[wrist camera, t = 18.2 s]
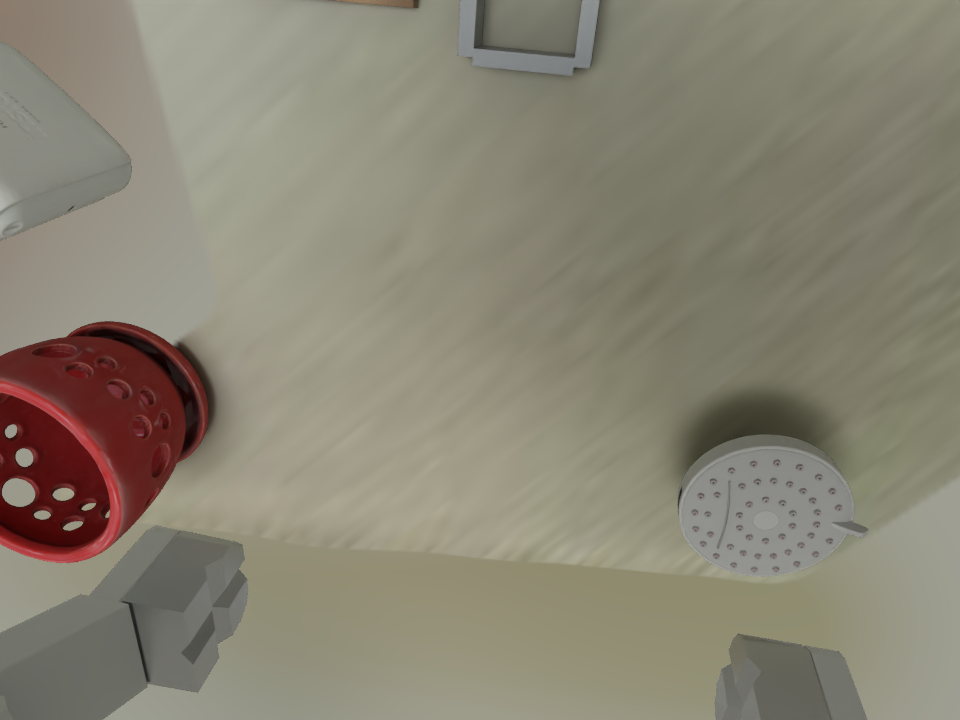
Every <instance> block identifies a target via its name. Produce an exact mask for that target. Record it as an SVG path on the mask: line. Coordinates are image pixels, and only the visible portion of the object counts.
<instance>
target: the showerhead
mask: <svg viewBox="0 0 960 720" xmlns="http://www.w3.org/2000/svg"><path fill="white" fill-rule="evenodd" d="M678 515H679V523H680V527H681V530H682V533H683V535H684V537H685V539H686V541H687V542H688V544H689V545H690V546H691V547H692V549H693V550H694V551H695V552H696V553H697V554H698V555H700V556H701V557H702V558H703V559H705V560H706V561H708V562H710V563H711V564H713V565H715V566H717V567H719V568H722V569H724V570H727V571H730V572H733V573H737V574H742V575H747V576H762V577H764V576H777V575H784V574H789V573H793V572H796V571H799V570H802V569H805V568H807V567H810V566H812V565H814V564H815V563H817V562H819V561H821V560H822V559H824V558H825V557H827V556H828V555H829V554H830V553H831V552H833V551H834V550H835V549H836V548H837V547H838V546H839V545H840V543H841V542H842V541H843V540H844V538H845V537H846V535H847V534H850V535H853V536H856V537H860V538H863V537H864V536H865V535H866V534H867V531H868V529H867V528H865V527H863V526H861V525H858V524H856V523H854V522H852V521H853V516H854V500H853V495H852V492H851V489H850V487H849V485H848V483H847V482H846V480H845V478H844V476H843V474H842V473H841V471H840V469H839V468H838V466H837V465H836V464H835V462H834V461H833V460H832V459H831V458H830V457H829V456H828V455H826V454H825V453H824V452H823V451H821V450H820V449H818V448H817V447H815V446H813V445H811V444H809V443H807V442H804V441H802V440H799V439H796V438H792V437H787V436H782V435H768V434H763V435H751V436H745V437H740V438H736V439H733V440H730V441H727V442H725V443H722V444H720V445H718V446H716V447H714V448H712V449H711V450H709V451H708V452H706V453H705V454H703V455H702V456H701V457H700V458H699V459H697V460H696V461H695V462H694V463H693V465H692V466H691V467H690V468H689V470H688V471H687V472H686V474H685V476H684V478H683V480H682V482H681V485H680V488H679V492H678Z"/></svg>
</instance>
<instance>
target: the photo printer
mask: <svg viewBox="0 0 960 720" xmlns="http://www.w3.org/2000/svg"><path fill="white" fill-rule="evenodd" d="M130 162H131V158H130V157H129V155H128V154H127V153H126V151H125V150H124V149H123V148H122V147H121V146H120V144H119V143H117V141H116V140H115V139H114V138H113V137H112V136H111V135H110V134H109V133H108V132H107V131H105V130H104V129H103V127H101V125H99V123H97V122H96V121H95V120H94V119H93V118H92V117H91V116H90V115H89V114H88V113H87V112H86V111H85V110H84V109H83V108H81V107H80V105H78V104H77V103H76V102H75V101H74V100H73V99H72V98H71V97H70V96H69V95H68V94H67V93H66V92H65V91H64V90H62V89H61V88H60V87H59V86H58V85H57V84H56V83H54V82H53V81H52V80H51V79H50V78H49V77H48V76H47V75H46V74H45V73H43V72H42V71H41V70H40V69H39V68H38V67H37V66H36V65H34V64H33V63H32V62H31V61H30V60H29V59H27V58H26V57H25V56H24V55H23V54H21V53H20V52H19V51H17V50H16V49H15V48H13V47H12V46H10V45H8V44H7V43H4V42H0V241H2V240H4V239H7V238H9V237H11V236H14V235H16V234H19V233H21V232H24V231H26V230H28V229H31V228H33V227H36V226H38V225H41V224H43V223H46V222H48V221H50V220H53V219H55V218H58V217H60V216H63V215H65V214H68V213H70V212H72V211H75V210H77V209H80V208H82V207H85V206H87V205H90V204H93V203H95V202H97V201H99V200H101V199H103V198H105V197H106V196H109V195H111V194H114V193H116V192H118V191H120V190H122V189H123V188H125V186H126V185H127V184H128V182H129V180H130V177H131V172H132V166H131V163H130Z"/></svg>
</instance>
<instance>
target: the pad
mask: <svg viewBox="0 0 960 720" xmlns="http://www.w3.org/2000/svg"><path fill="white" fill-rule="evenodd" d="M332 1H343V2H354V3H365V4H376V5H387V6H398V7H409V8H418V0H332Z"/></svg>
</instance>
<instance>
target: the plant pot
mask: <svg viewBox="0 0 960 720" xmlns="http://www.w3.org/2000/svg"><path fill="white" fill-rule="evenodd" d="M11 424H15V425H16V426H17V433H16V435H15V436H14V437H12V438H7V437H6V435H5V429H6V428H7V427H8V426H9V425H11ZM207 424H208V402H207V398H206V394H205V390H204V388H203V385H202V383H201V380H200V378H199V376H198V375H197V373H196V371H195V370H194V368H193V367H192V365H191V364H190V363H189V361H188V360H187V359H186V358H185V357H184V356H183V355H182V354H181V353H180V352H179V351H178V350H177V349H176V348H175V347H174V346H172V345H171V344H170V343H168V342H167V341H166V340H164V339H163V338H161V337H159V336H158V335H156V334H154V333H152V332H150V331H148V330H145V329H143V328H140V327H138V326H134V325H131V324H126V323H121V322H110V321H108V322H107V321H106V322H97V323H92V324H88V325H85V326H83V327H80V328H78V329H76V330H74V331H73V332H71V333H70V334H69V335H68V336H67V337H65V338H57V339H51V340H47V341H43V342H39V343H36V344H33V345H29V346H26V347H23V348H19V349H16V350H13V351H11V352H8V353H6V354H4V355H2V356H0V544H1V545H3V546H5V547H7V548H9V549H11V550H13V551H16V552H18V553H20V554H23V555H26V556H29V557H33V558H36V559H40V560H43V561H49V562H56V563H71V562H78V561H82V560H86V559H89V558H92V557H94V556H96V555H98V554H100V553H102V552H103V551H105V550H106V549H107V548H109V547H110V546H111V545H112V544H113V543H115V542H116V541H117V540H118V539H119V538H120V537H121V536H122V535H123V534H124V533H125V532H126V531H127V530H128V529H129V528H130V527H131V526H132V525H133V524H134V523H135V522H136V521H137V520H138V519H139V518H140V517H141V515H142V514H143V513H144V512H145V511H146V509H147V508H148V507H149V506H150V505H151V503H152V502H153V501H154V500H155V498H156V497H157V496H158V494H159V493H160V492H161V490H162V489H163V487H164V485H165V484H166V482H167V481H168V479H169V478H170V476H171V474H172V472H173V470H174V468H175V466H176V464H177V463H178V462H180V461H182V460H184V459H185V458H187V457H188V456H190V455H191V454H192V453H193V452H194V451H195V450H196V448H197V447H198V446H199V444H200V443H201V441H202V439H203V437H204V434H205V432H206V429H207ZM21 448H26V449H29V450H30V451H31V452H32V454H33V463H32V464H31V465H30V466H28V467H22V466H20V465H19V464H18V463H17V461H16V459H15V455H16V452H17V451H18V450H19V449H21ZM12 478H19V479H23V480H25V481H27V482H28V483H30V484H31V485H32V486H33V488H34V490H35V499H34V501H33V502H32V503H31V504H29V505H27V506H24V507H16V506H12V505H10V504H8V503H7V502H6V501H5V500H4V498H3V497H2V488H3V485H4V484H5V483H6V482H7V481H8V480H10V479H12ZM59 488H69V489H71V490H72V491H74V496H73V497H72V498H71V499H69V500H66V501H59V500H56V499H55V498H54V497H53V496H52V494H53V493H54V491H55V490H57V489H59ZM88 503H96V505H95V507H94V508H92V509H90V510H87V511H84V510H81V509H82V507H83V506H84V505H86V504H88ZM41 510H45V511H48V512H50V514H51V516H50V517H49V518H48V519H45V520H40V519H37V518H35V517H34V513H35V512H37V511H41ZM109 510H110V516H109V518H105V515H106V513H107V512H108V511H109ZM74 521H82V522H83V524H82V526H81V527H79V528H77V529H74V530H71V531H66V530H64V529H63V527H64V526H65V525H66V524H68V523H70V522H74Z"/></svg>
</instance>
